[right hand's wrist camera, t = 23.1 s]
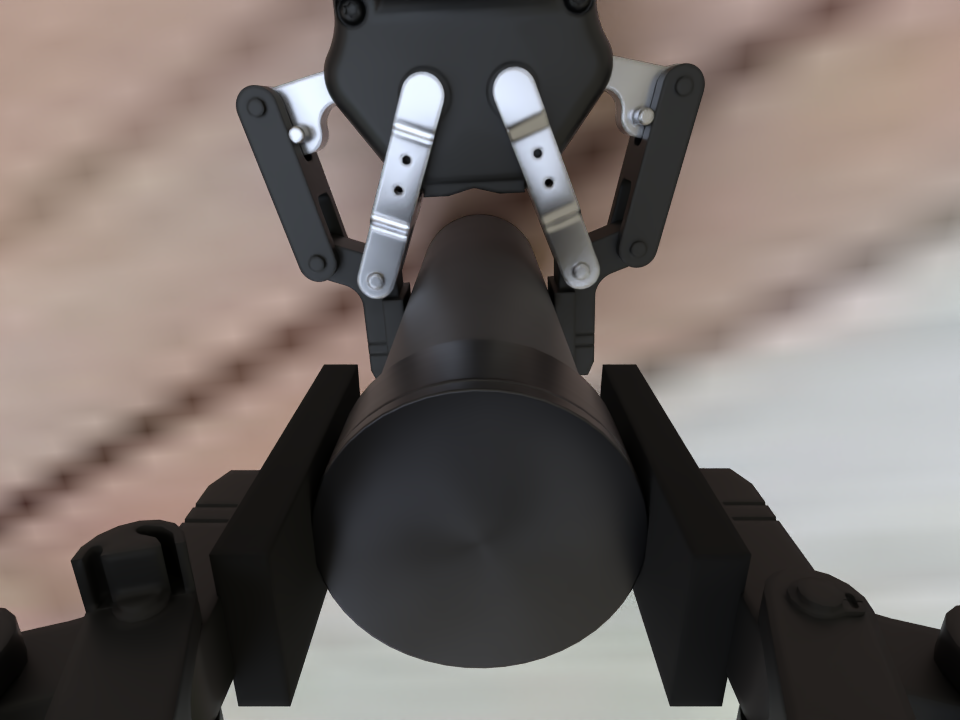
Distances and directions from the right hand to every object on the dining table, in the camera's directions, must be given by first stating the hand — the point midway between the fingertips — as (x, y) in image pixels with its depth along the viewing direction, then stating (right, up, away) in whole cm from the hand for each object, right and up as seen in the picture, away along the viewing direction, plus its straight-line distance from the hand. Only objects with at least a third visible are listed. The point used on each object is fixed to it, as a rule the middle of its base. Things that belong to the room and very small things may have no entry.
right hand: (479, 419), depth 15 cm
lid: (0, -2, -4) cm, 4 cm away
